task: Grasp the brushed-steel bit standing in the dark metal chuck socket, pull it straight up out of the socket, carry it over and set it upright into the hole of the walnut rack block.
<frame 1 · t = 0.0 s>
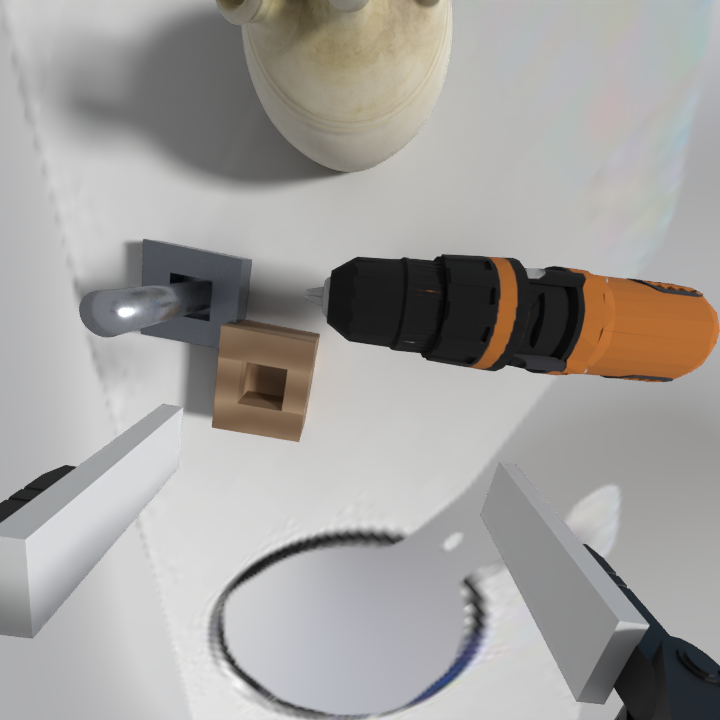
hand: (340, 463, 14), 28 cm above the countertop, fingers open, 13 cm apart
power drill: (421, 294, 40), on the countertop
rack: (272, 372, 42), on the countertop
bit: (202, 295, 39), resting on socket block
socket block: (204, 294, 39), on the countertop
jug: (349, 107, 35), on the countertop
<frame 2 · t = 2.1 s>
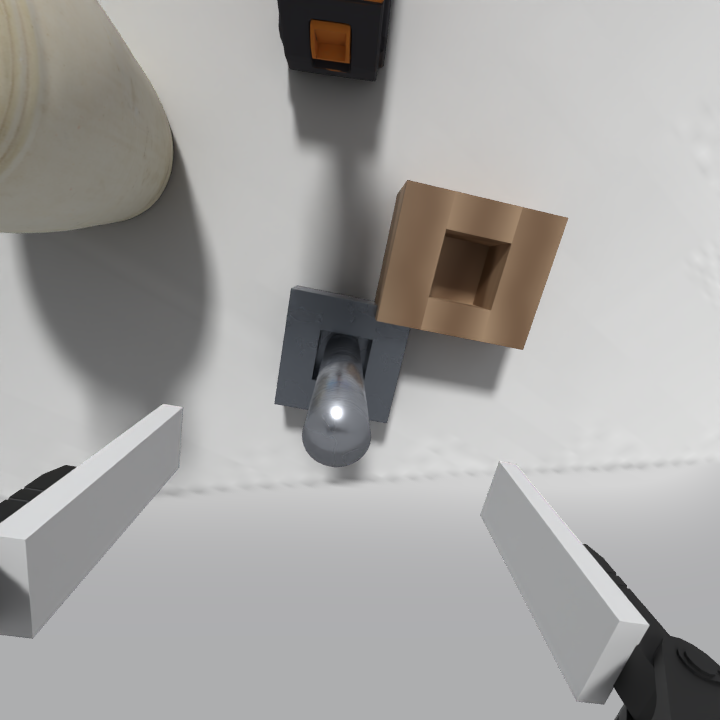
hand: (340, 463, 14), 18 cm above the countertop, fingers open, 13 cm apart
power drill: (338, 12, 25), on the countertop
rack: (449, 269, 30), on the countertop
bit: (342, 350, 31), resting on socket block
socket block: (342, 349, 32), on the countertop
jug: (98, 139, 26), on the countertop
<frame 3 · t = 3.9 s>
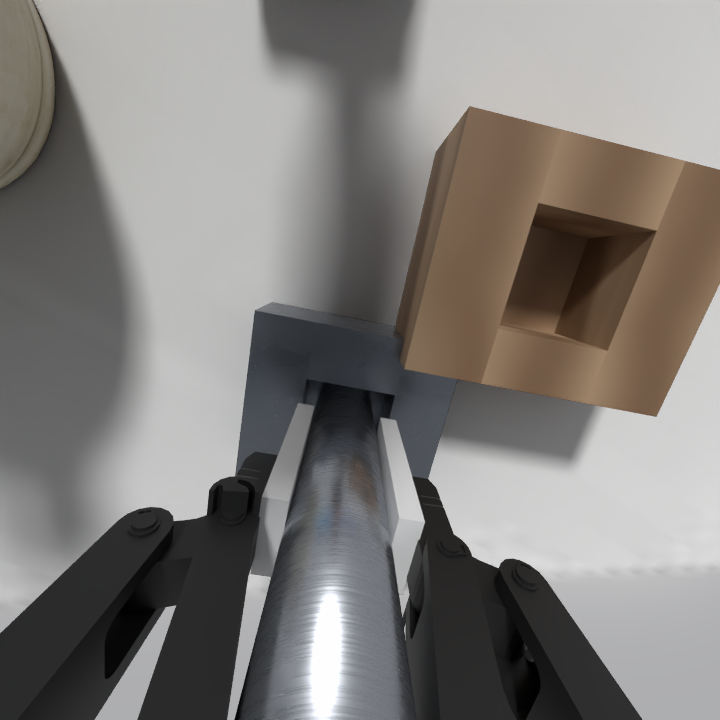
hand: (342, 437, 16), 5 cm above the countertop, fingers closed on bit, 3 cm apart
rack: (517, 277, 19), on the countertop
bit: (344, 403, 20), point 1 cm above the countertop, touching gripper, socket block
socket block: (344, 400, 20), on the countertop
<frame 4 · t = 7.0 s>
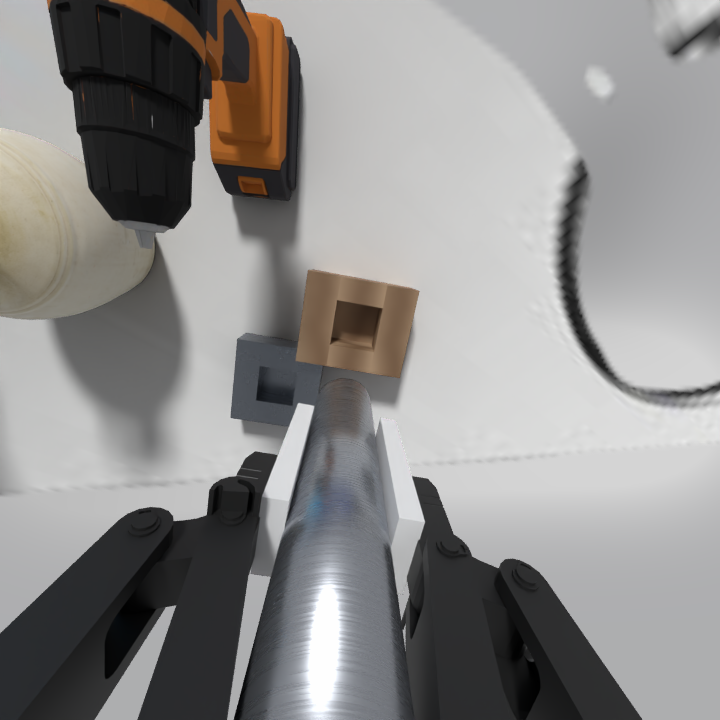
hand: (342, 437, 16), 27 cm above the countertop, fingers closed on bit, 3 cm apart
power drill: (263, 154, 37), on the countertop
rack: (355, 319, 42), on the countertop
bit: (343, 404, 20), point 23 cm above the countertop, touching gripper
socket block: (281, 376, 43), on the countertop
jug: (103, 239, 38), on the countertop
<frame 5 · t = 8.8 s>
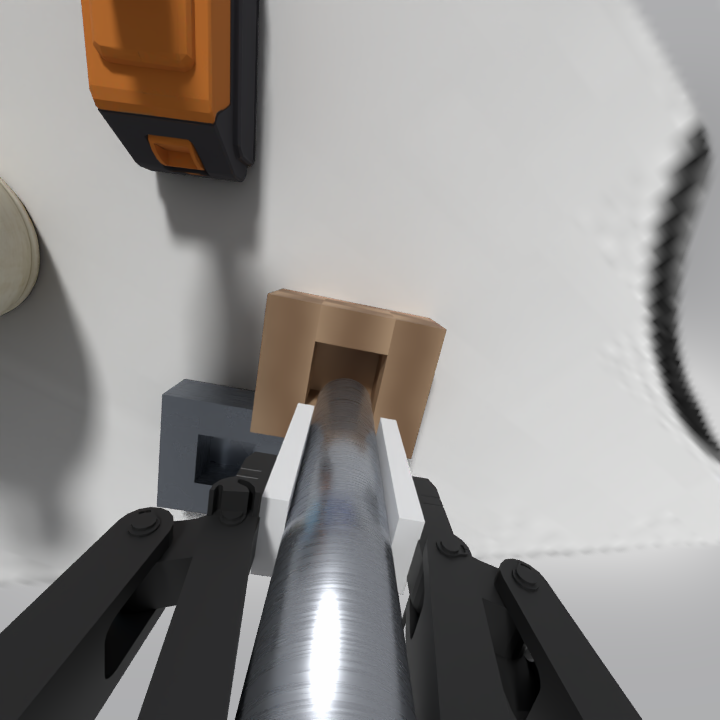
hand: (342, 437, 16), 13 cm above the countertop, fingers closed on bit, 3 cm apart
power drill: (204, 109, 23), on the countertop
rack: (345, 362, 28), on the countertop
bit: (344, 403, 20), point 9 cm above the countertop, touching gripper
socket block: (238, 441, 30), on the countertop
when the fingers open (7 cm above the countertop, at t = 10.3 s): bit drops 2 cm, resting on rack.
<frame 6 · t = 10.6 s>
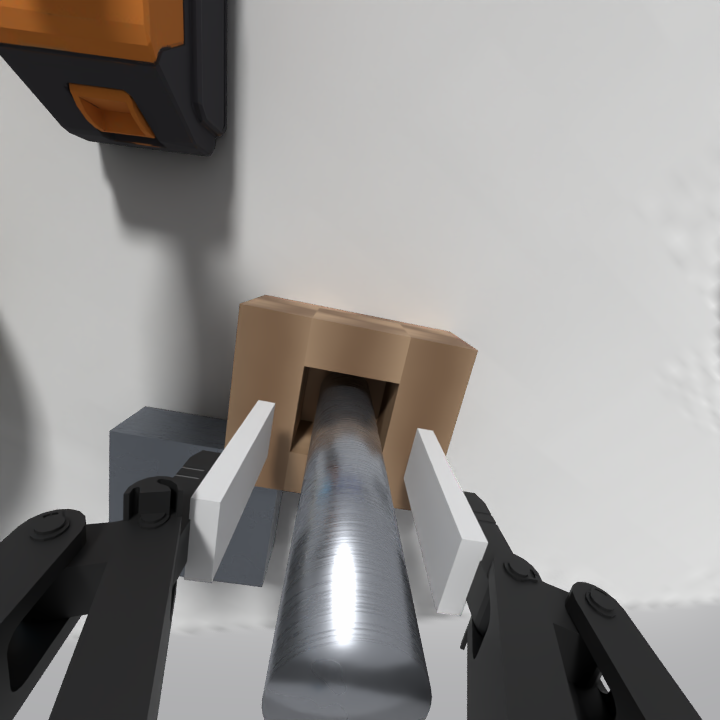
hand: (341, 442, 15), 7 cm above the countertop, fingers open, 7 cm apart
power drill: (160, 61, 18), on the countertop
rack: (345, 386, 23), on the countertop
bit: (344, 392, 22), point 1 cm above the countertop, touching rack
socket block: (213, 480, 24), on the countertop
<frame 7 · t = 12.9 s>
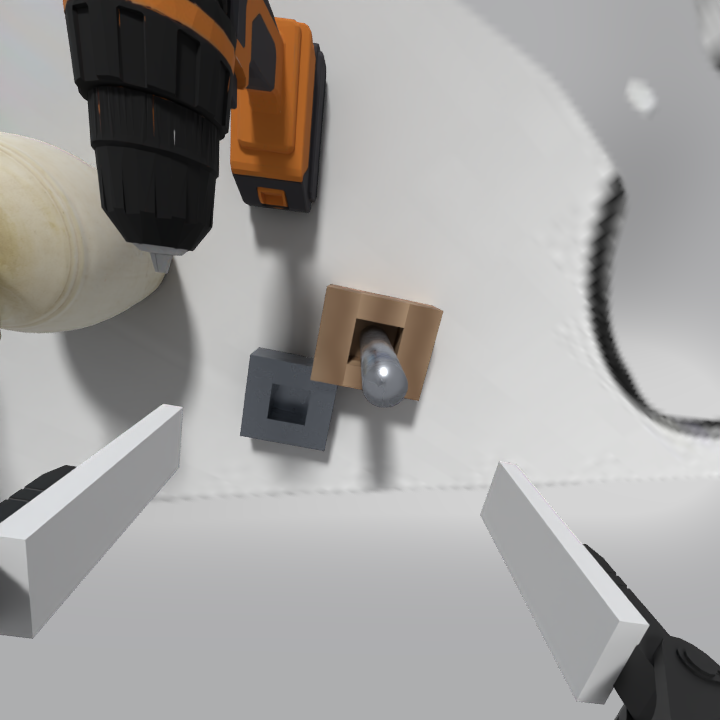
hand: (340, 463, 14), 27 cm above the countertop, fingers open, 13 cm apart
power drill: (284, 164, 35), on the countertop
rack: (372, 336, 40), on the countertop
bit: (373, 338, 39), point 1 cm above the countertop, touching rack
socket block: (294, 393, 42), on the countertop
jug: (115, 247, 37), on the countertop
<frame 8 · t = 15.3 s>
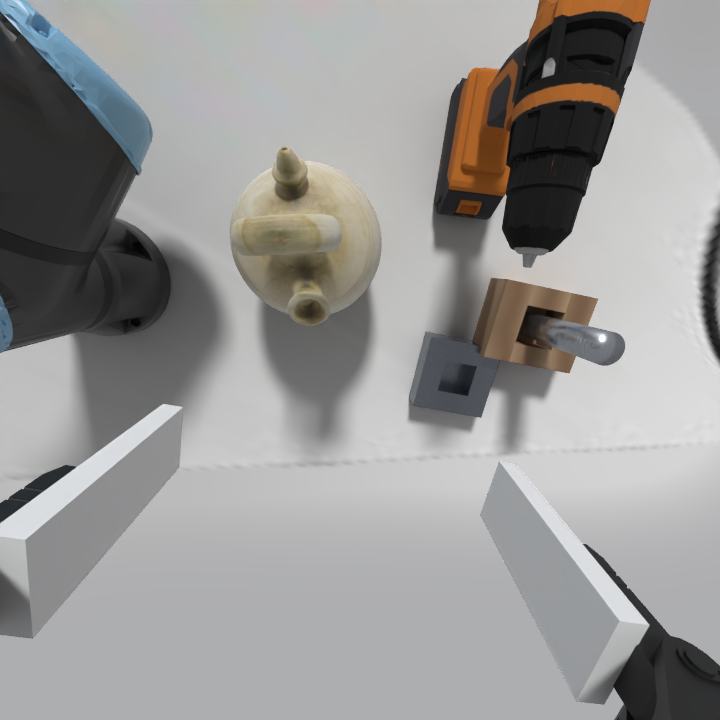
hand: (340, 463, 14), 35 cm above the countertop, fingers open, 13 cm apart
power drill: (464, 179, 43), on the countertop
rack: (520, 322, 48), on the countertop
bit: (524, 323, 47), point 1 cm above the countertop, touching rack
socket block: (449, 370, 49), on the countertop
jug: (317, 248, 45), on the countertop
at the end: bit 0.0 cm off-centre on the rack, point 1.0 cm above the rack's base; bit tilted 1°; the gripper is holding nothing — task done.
